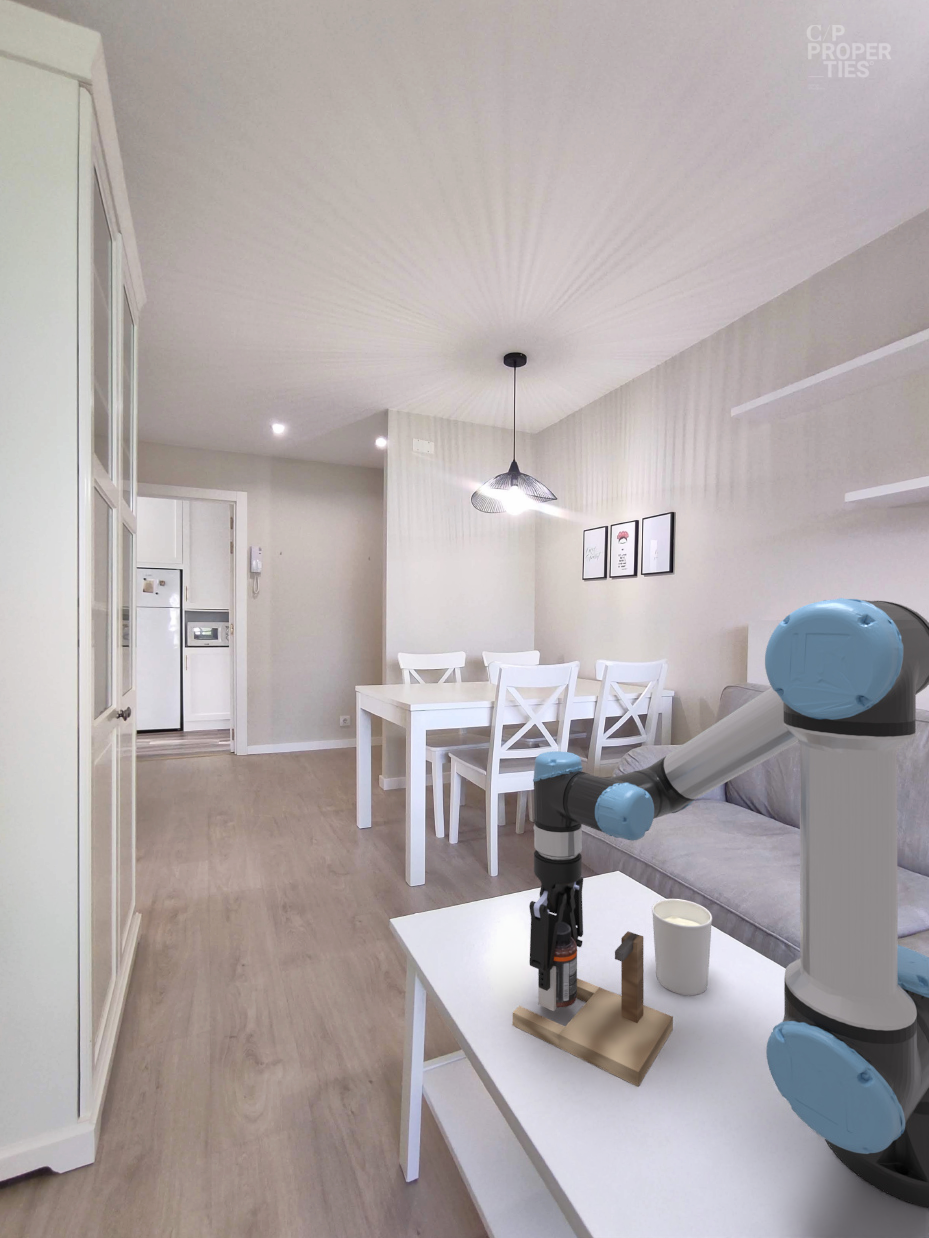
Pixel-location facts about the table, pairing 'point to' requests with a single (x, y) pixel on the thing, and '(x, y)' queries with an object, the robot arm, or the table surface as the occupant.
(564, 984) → the supplement bottle
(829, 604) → the robot arm
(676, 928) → the candle holder
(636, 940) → the hook post
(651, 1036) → the oak forked base
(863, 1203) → the table surface
